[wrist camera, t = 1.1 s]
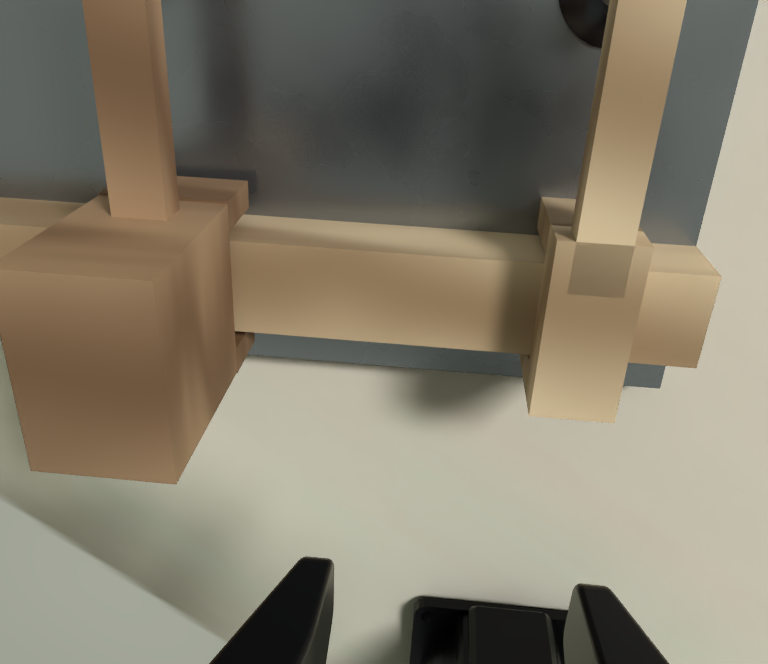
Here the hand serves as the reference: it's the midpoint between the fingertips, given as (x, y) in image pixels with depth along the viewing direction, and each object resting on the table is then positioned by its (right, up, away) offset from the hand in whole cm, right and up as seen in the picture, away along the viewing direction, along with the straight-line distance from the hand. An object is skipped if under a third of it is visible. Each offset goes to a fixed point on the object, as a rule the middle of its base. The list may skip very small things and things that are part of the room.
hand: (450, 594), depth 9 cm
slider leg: (-6, +8, +8) cm, 13 cm away
